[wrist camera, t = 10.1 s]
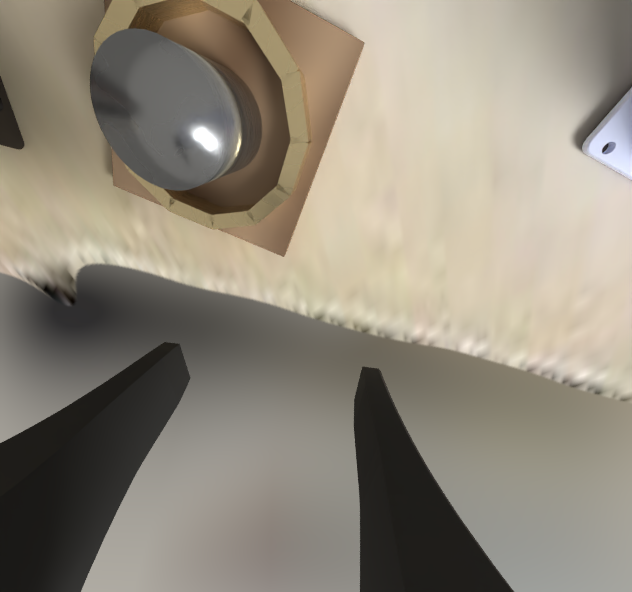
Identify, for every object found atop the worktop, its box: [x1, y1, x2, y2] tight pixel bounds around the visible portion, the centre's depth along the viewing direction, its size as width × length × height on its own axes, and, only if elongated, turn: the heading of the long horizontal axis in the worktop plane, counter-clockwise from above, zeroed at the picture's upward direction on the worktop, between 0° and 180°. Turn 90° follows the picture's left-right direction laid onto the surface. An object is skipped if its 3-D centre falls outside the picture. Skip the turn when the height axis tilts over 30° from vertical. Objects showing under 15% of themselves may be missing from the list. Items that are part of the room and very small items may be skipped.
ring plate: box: [93, 0, 364, 257], centre depth 13 cm, size 11×11×2 cm
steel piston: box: [90, 28, 262, 191], centre depth 11 cm, size 5×5×5 cm
